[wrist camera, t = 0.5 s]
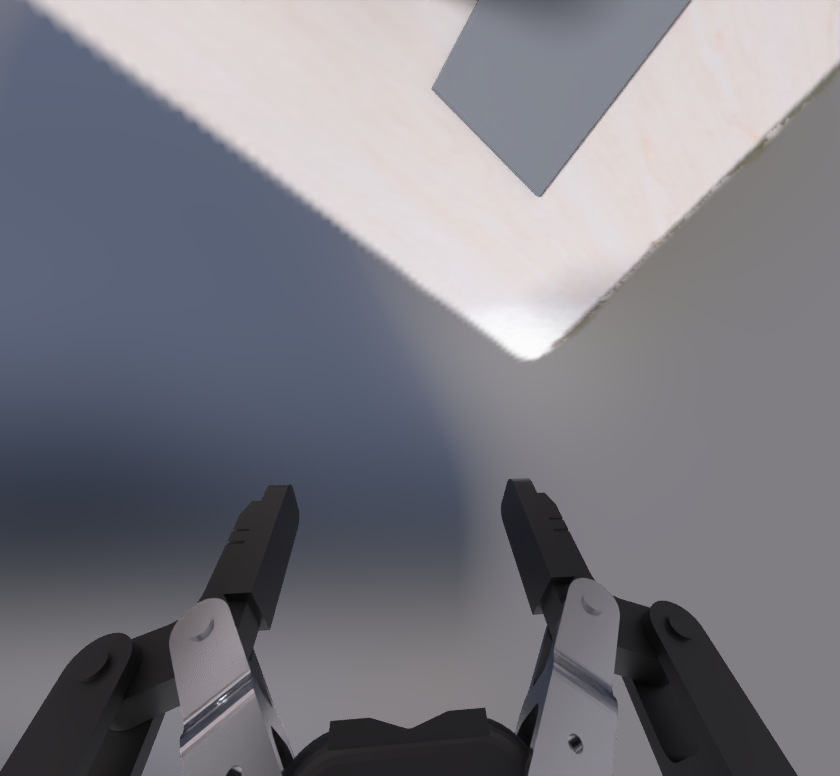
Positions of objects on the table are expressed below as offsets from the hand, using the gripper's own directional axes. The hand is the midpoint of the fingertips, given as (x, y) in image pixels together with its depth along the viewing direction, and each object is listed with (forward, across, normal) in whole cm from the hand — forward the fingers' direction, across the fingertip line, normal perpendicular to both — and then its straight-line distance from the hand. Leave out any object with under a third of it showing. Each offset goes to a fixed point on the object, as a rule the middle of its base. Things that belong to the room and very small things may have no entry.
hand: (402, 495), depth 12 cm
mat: (+26, -13, -20) cm, 36 cm away
